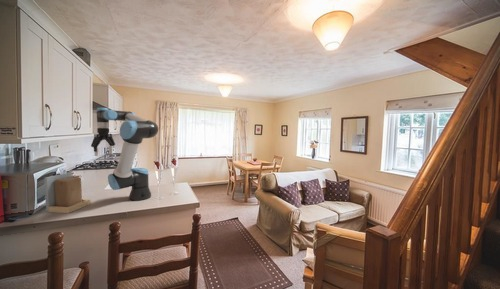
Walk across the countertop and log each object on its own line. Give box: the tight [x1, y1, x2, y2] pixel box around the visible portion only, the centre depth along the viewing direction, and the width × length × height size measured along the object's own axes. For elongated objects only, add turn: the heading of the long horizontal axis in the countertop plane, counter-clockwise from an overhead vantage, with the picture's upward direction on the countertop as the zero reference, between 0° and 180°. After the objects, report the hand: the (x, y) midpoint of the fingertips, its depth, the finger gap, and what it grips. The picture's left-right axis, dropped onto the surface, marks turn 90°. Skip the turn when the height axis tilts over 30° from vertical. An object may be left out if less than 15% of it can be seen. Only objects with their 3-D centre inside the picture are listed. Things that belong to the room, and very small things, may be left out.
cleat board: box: [43, 171, 91, 214], centre depth 135 cm, size 16×16×22 cm
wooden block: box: [54, 176, 83, 207], centre depth 135 cm, size 10×10×20 cm
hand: (104, 154), depth 159 cm, fingers open, 13 cm apart
